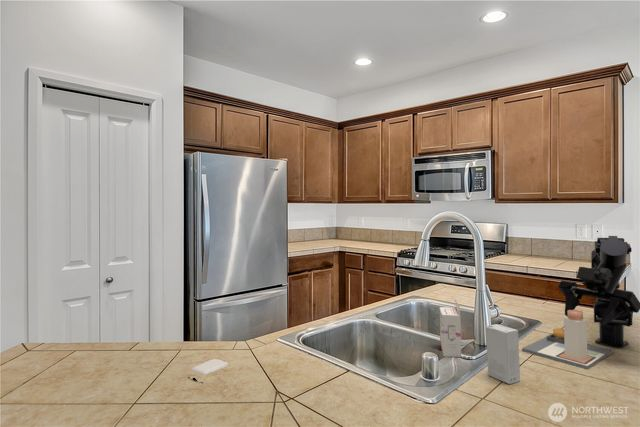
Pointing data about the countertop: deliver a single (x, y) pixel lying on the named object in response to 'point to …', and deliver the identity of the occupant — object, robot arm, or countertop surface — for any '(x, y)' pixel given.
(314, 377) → the countertop surface
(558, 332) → the button
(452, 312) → the ink cartridge box
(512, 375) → the skincare box
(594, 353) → the grey flat board
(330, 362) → the countertop surface
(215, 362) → the soap
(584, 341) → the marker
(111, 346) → the countertop surface
